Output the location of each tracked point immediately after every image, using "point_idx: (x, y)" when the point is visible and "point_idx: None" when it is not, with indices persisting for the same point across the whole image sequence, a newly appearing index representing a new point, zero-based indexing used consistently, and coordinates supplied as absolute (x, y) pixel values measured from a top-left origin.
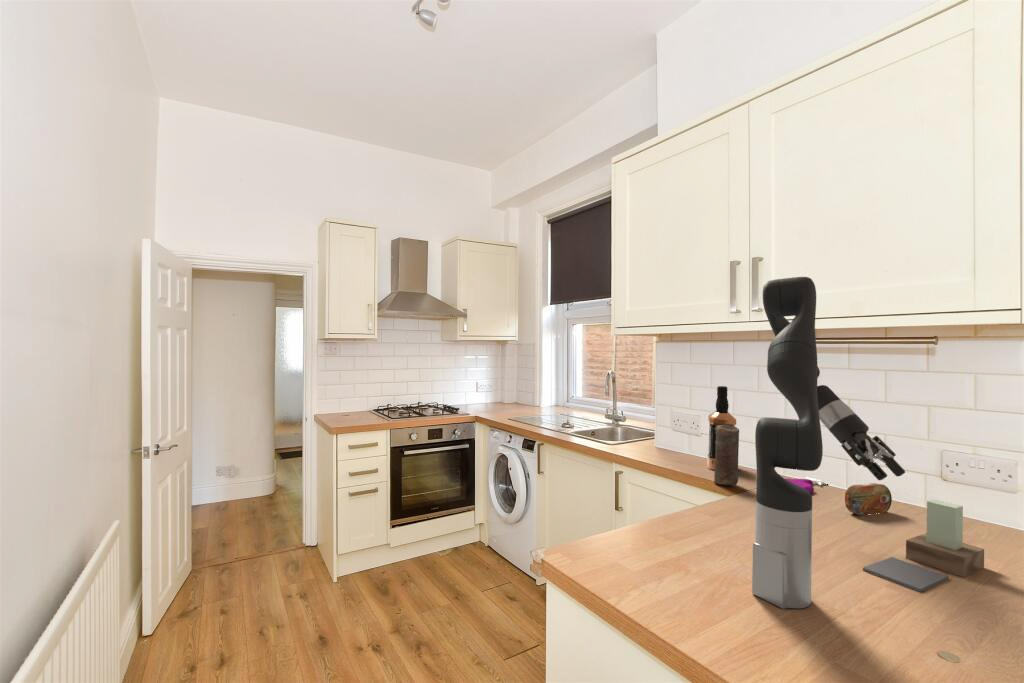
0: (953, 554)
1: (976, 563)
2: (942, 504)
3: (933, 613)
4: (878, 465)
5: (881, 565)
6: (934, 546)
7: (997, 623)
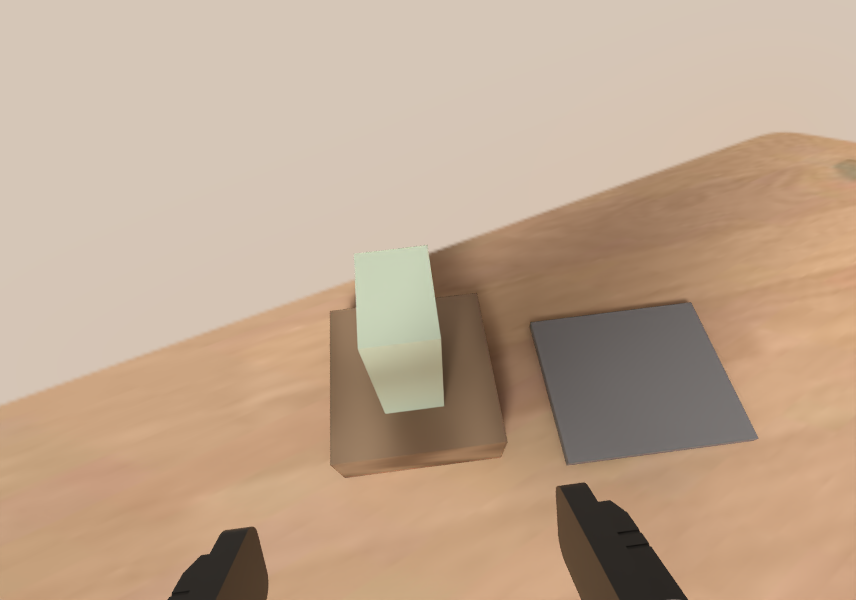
0: (479, 315)
1: None
2: (421, 289)
3: (748, 246)
4: (604, 563)
5: (674, 428)
6: (467, 370)
7: (644, 197)
